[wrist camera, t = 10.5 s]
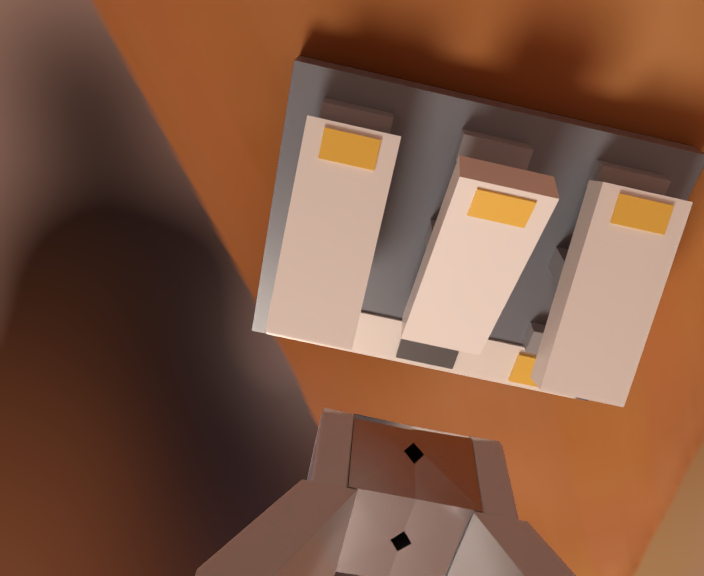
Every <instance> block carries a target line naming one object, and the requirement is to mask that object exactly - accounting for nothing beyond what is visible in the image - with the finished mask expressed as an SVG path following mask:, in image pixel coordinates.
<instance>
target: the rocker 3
mask: <svg viewBox="0 0 704 576" xmlns="http://www.w3.org/2000/svg"><path fill="white" fill-rule="evenodd" d="M692 204H693V202H690V201H686V200H681V199H677V198H672V197H668V196H663V195H659V194H655V193H650V192H646V191H641V190H637V189H633V188H628V187H624V186H619V185H615V184H610V183H606V182H600V181H593V180H589V182H588V186H587V189H586V192H585V196H584V199H583V202H582V206H581V209H580V212H579V216H578V219H577V222H576V226H575V229H574V232H573V236H572V239H571V242H570V246H569V249H568V252H567V256H566V259H565V263H564V266H563V269H562V273H561V276H560V279H559V283H558V286H557V289H556V293H555V296H554V299H553V303H552V306H551V309H550V313H549V316H548V319H547V323H546V326H545V329H544V333H543V336H542V339H541V343H540V346H539V349H538V353H537V356H536V360H535V363H534V366H533V370H532V373H531V376H530V377H531V379H532V380H533V381H534V383H535V384H536V385H537V386H538V388H539V389H540V390H544V391H549V392H554V393H558V394H563V395H568V396H573V397H577V398H582V399H587V400H592V401H597V402H601V403H606V404H611V405H616V406H620V407H624V405H625V402H626V399H627V396H628V393H629V390H630V387H631V384H632V381H633V378H634V375H635V372H636V369H637V367H638V364H639V361H640V358H641V355H642V352H643V349H644V346H645V343H646V340H647V337H648V334H649V331H650V328H651V325H652V322H653V319H654V316H655V313H656V310H657V307H658V304H659V301H660V298H661V295H662V293H663V290H664V287H665V284H666V281H667V278H668V275H669V272H670V269H671V266H672V263H673V260H674V257H675V254H676V251H677V248H678V245H679V242H680V239H681V236H682V233H683V230H684V227H685V224H686V221H687V219H688V216H689V213H690V210H691V207H692Z"/></svg>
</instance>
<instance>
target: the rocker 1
mask: <svg viewBox="0 0 704 576" xmlns="http://www.w3.org/2000/svg"><path fill="white" fill-rule="evenodd" d="M400 140H401V136H397V135H392V134H388V133H384V132H379V131H375V130H370V129H366V128H361V127H357V126H353V125H348V124H344V123H339V122H335V121H331V120H326V119H322V118H317V117H313V116H308V115H307V119H306V124H305V129H304V134H303V139H302V144H301V149H300V155H299V160H298V165H297V170H296V175H295V180H294V185H293V191H292V196H291V201H290V206H289V211H288V216H287V222H286V227H285V232H284V237H283V242H282V247H281V252H280V258H279V263H278V268H277V273H276V278H275V283H274V288H273V294H272V299H271V304H270V309H269V314H268V319H267V325H266V330H265V332H270V333H274V334H279V335H284V336H289V337H293V338H298V339H303V340H308V341H312V342H317V343H322V344H327V345H332V346H336V347H341V348H346V349H351V350H352V348H353V343H354V339H355V335H356V330H357V326H358V322H359V317H360V313H361V309H362V304H363V300H364V296H365V291H366V287H367V283H368V278H369V274H370V270H371V265H372V261H373V257H374V252H375V248H376V244H377V239H378V235H379V231H380V226H381V222H382V218H383V214H384V209H385V205H386V201H387V196H388V192H389V188H390V183H391V179H392V175H393V170H394V166H395V162H396V157H397V153H398V149H399V144H400Z"/></svg>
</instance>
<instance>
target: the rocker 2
mask: <svg viewBox="0 0 704 576" xmlns="http://www.w3.org/2000/svg"><path fill="white" fill-rule="evenodd" d="M558 201H559V195H558V191H557V187H556V183H555V178H554V177H553V176H549V175H545V174H540V173H536V172H531V171H527V170H522V169H518V168H514V167H509V166H505V165H500V164H496V163H491V162H487V161H483V160H478V159H474V158H469V157H465V156H460V155H459V157H458V160H457V163H456V166H455V168H454V171H453V174H452V177H451V180H450V183H449V185H448V188H447V191H446V194H445V197H444V200H443V202H442V205H441V208H440V211H439V214H438V217H437V220H436V222H435V225H434V228H433V231H432V234H431V237H430V239H429V242H428V245H427V248H426V251H425V254H424V256H423V259H422V262H421V265H420V268H419V271H418V274H417V276H416V279H415V282H414V285H413V288H412V291H411V293H410V296H409V299H408V302H407V305H406V308H405V310H404V313H403V318H402V331H401V339H405V340H409V341H414V342H419V343H424V344H428V345H433V346H438V347H442V348H447V349H452V350H457V351H461V352H466V353H471V354H476V355H480V354H481V352H482V350H483V348H484V346H485V344H486V342H487V340H488V338H489V336H490V334H491V332H492V330H493V328H494V326H495V324H496V322H497V320H498V318H499V316H500V314H501V312H502V310H503V308H504V307H505V305H506V303H507V301H508V299H509V297H510V295H511V293H512V291H513V289H514V287H515V285H516V283H517V281H518V279H519V277H520V275H521V273H522V271H523V269H524V267H525V265H526V263H527V261H528V259H529V257H530V256H531V254H532V252H533V250H534V248H535V246H536V244H537V242H538V240H539V238H540V236H541V234H542V232H543V230H544V228H545V226H546V224H547V222H548V220H549V218H550V216H551V214H552V212H553V210H554V208H555V207H556V205H557V203H558Z"/></svg>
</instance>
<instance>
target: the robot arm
mask: <svg viewBox="0 0 704 576" xmlns="http://www.w3.org/2000/svg"><path fill="white" fill-rule="evenodd" d="M335 571H336V572H342V573H349V574H355V575H362V576H576V575H575V574H574V573H573V572H572V571H571V570H570V568H569V567H568V566H567V565H566V564H565V563H564V562H563V561H562V559H561V558H560V557H559V556H558V555H557V554H556V553H555V552H554V551H553V549H552V548H551V547H550V546H549V545H548V544H547V543H546V542H545V541H544V539H543V538H542V537H541V536H540V535H539V534H538V533H537V532H536V530H535V529H534V528H533V527H532V526H531V525H530V524H529V523H528V522H527V521H521V520H519V519H518V515H517V510H516V505H515V501H514V496H513V492H512V487H511V483H510V478H509V474H508V469H507V464H506V460H505V455H504V451H503V446H502V445H501V443H500V442H499V441H495V440H489V439H483V438H477V437H472V436H469V437H467V436H463V435H457V434H452V433H446V432H441V431H435V430H430V429H425V428H419V427H414V426H409V425H404V424H400V423H395V422H391V421H386V420H381V419H377V418H372V417H367V416H363V415H358V414H354V415H352V414H351V413H346V412H342V411H337V410H332V409H327V408H323V411H322V414H321V419H320V423H319V428H318V432H317V438H316V442H315V446H314V451H313V455H312V460H311V464H310V469H309V475H308V479H307V480H301V481H300V482H299V483H297V484H296V485H295V486H294V487H293V488H292V489H290V490H289V491H288V492H287V493H286V494H285V495H284V496H282V497H281V498H280V499H279V500H278V501H276V502H275V503H274V504H273V505H272V506H271V507H269V508H268V509H267V510H266V511H265V512H264V513H263V514H261V515H260V516H259V517H258V518H257V519H255V520H254V521H253V522H252V523H251V524H249V525H248V526H247V527H246V528H245V529H244V530H242V531H241V532H240V533H239V534H238V535H237V536H235V537H234V538H233V539H232V540H231V541H230V542H228V543H227V544H226V545H225V546H224V547H223V548H221V549H220V550H219V551H218V552H217V553H216V554H214V555H213V556H212V557H211V558H210V559H209V560H207V561H206V562H205V563H204V564H203V565H202V566H200V567H199V568H198V569H197V571H196V574H195V576H334V575H335Z"/></svg>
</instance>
